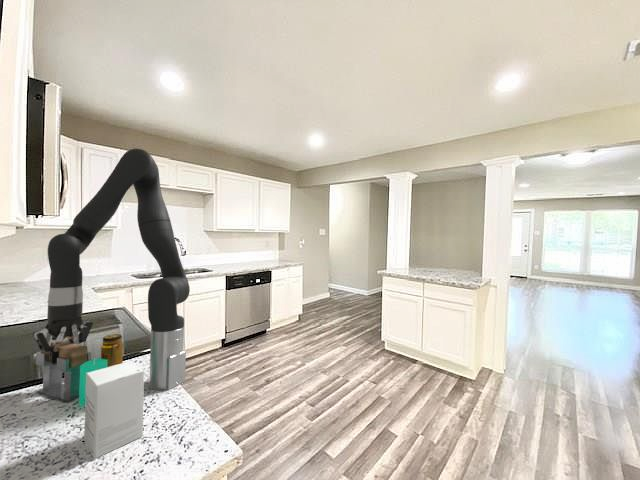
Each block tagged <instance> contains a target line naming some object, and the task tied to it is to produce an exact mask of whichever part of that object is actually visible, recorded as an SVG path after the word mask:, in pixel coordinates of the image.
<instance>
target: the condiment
mask: <svg viewBox="0 0 640 480" xmlns="http://www.w3.org/2000/svg"><path fill="white" fill-rule="evenodd" d="M122 337H123V336H122V334H120V333H119V334H118V333H115V334H114V333H113V334H109V335H106V336H105V335H104V337H103V338H102V345H101V346H100V347H101V348H100V352H101V353H100V359H105V360H108V361H107V367H110V366H114V365H118V364H121V363H124V362H123V358H124V357H123V356H124V355H123V354H124V352H123V351H124V343H123V338H122Z"/></svg>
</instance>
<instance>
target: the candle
mask: <svg viewBox="0 0 640 480" xmlns="http://www.w3.org/2000/svg"><path fill="white" fill-rule="evenodd" d="M93 357H94V358H93V359H91V360H90V361H87V362H85V363H83V364H82V365H81V366H80V386H79V398H78V406H80V407H81V408H85V396H86V373H88V372H92V371H96V370H99V369H103V368H107V361H108V360H105V359H101V358H95V356H93Z"/></svg>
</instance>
